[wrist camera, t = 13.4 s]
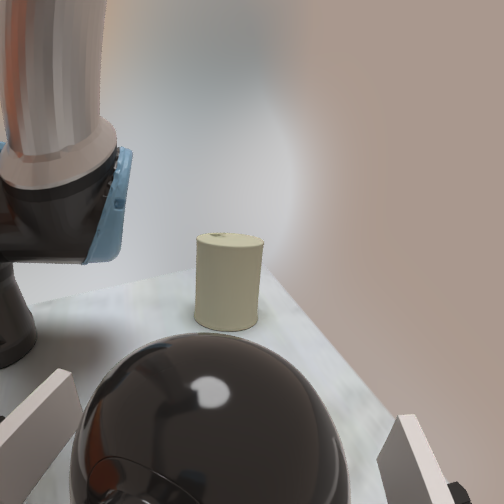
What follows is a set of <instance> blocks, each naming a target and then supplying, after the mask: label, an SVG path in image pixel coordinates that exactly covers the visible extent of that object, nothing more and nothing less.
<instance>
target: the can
mask: <svg viewBox="0 0 504 504" xmlns="http://www.w3.org/2000/svg"><path fill="white" fill-rule="evenodd" d="M196 240H197V256H196V257H197V258H196V299H195V312H194V318H195V320H196V321H197V322H198V323H199V324H200V325H202V326H204V327H206V328H209V329H213V330H218V331H240V330H245V329H248V328H250V327H252V326H253V325H255V324H256V322H257V320H258V316H257V307H258V295H259V283H260V272H261V262H262V252H263V245H264V241H263V240H262V239H260V238H257V237H254V236H249V235H243V234H235V233H208V234H202V235H199V236H198V237H197V238H196Z"/></svg>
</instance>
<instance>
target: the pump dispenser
mask: <svg viewBox="0 0 504 504" xmlns="http://www.w3.org/2000/svg"><path fill="white" fill-rule="evenodd" d="M69 495H70V504H351V488H350V478H349V471H348V466H347V461H346V457H345V453H344V449H343V446H342V442H341V439H340V437H339V434H338V431H337V429H336V427H335V424H334V422H333V420H332V418H331V416H330V414H329V412H328V410H327V408H326V407H325V405H324V403H323V401H322V400H321V398H320V397H319V395H318V394H317V392H316V391H315V389H314V388H313V386H312V385H311V384H310V382H309V381H308V380H307V379H306V378H305V377H304V375H303V374H302V373H301V372H300V371H299V370H298V369H296V368H295V367H294V366H293V365H292V364H291V363H290V362H288V361H287V360H286V359H284V358H283V357H281V356H280V355H278V354H277V353H275V352H273V351H271V350H270V349H268V348H266V347H264V346H262V345H259V344H257V343H254V342H252V341H249V340H246V339H243V338H239V337H235V336H231V335H225V334H218V333H186V334H179V335H173V336H169V337H165V338H162V339H159V340H156V341H153V342H150V343H148V344H146V345H144V346H142V347H140V348H138V349H136V350H134V351H133V352H131V353H130V354H128V355H127V356H125V357H124V358H123V359H122V360H120V361H119V362H118V363H117V364H116V365H115V366H114V367H113V368H112V369H111V370H110V371H109V372H108V373H107V374H106V376H105V377H104V378H103V380H102V381H101V382H100V384H99V385H98V387H97V388H96V390H95V391H94V393H93V395H92V397H91V398H90V400H89V402H88V404H87V406H86V408H85V410H84V412H83V415H82V417H81V420H80V422H79V425H78V428H77V431H76V435H75V438H74V442H73V447H72V453H71V460H70V471H69Z"/></svg>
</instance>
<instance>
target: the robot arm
mask: <svg viewBox="0 0 504 504" xmlns="http://www.w3.org/2000/svg"><path fill="white" fill-rule="evenodd" d="M106 2H107V0H0V100H1V107H2V113H3V120H4V125H5V130H6V136H7V140H8V141H7V142H6V143H5V142H0V368H2V367H5V366H7V365H10V364H12V363H14V362H15V361H17V360H19V359H20V358H22V357H23V356H24V355H25V354H26V353H27V352H29V350H30V349H31V348H32V347H33V345H34V343H35V341H36V337H37V333H36V328H35V323H34V319H33V316H32V313H31V312H30V310H29V309H28V307H27V305H26V303H25V300H24V298H23V296H22V293H21V291H20V289H19V287H18V285H17V282H16V280H15V277H14V271H13V262H20V263H55V264H81V265H86V264H88V263H97V262H109V261H112V260H113V259H115V258H116V257H117V256H118V254H119V252H120V249H121V242H122V232H123V222H124V212H125V204H126V197H127V190H128V183H129V176H130V170H131V163H132V157H133V153H132V151H131V150H130V149H126V148H124V147H122V146H121V147H118V148H117V137H116V131H115V129H114V127H113V126H112V125H111V123H109V122H108V121H107V120H105V119H104V118H102V117H101V116H100V108H99V106H100V101H99V100H100V69H101V52H102V39H103V29H104V18H105V11H106V4H107V3H106ZM82 415H83V411H82V408H81V404H80V401H79V398H78V394H77V391H76V387H75V383H74V379H73V375H72V373H71V372H68V371H66V370H63V369H60V368H58V369H57V370H56V371H55V372H53V373H52V374H51V375H50V376H49V377H48V378H47V379H46V380H45V381H44V382H43V383H42V384H41V385H40V386H39V387H37V388H36V389H35V390H34V391H33V392H32V393H31V394H30V395H29V396H28V397H27V398H26V399H25V400H24V401H23V402H22V403H21V404H20V405H19V406H18V407H17V408H16V409H15V410H13V411H12V412H11V413H10V414H9V415H8V416H7V417H6V418H5V417H3V416H0V504H22V503H23V502H24V501H25V499H26V498H27V496H28V495H29V494H30V492H31V491H32V489H33V488H34V487H35V485H36V484H37V483H38V481H39V480H40V478H41V477H42V476H43V474H44V473H45V472H46V470H47V469H48V468H49V466H50V465H51V464H52V462H53V461H54V460H55V458H56V457H57V455H58V454H59V453H60V451H61V450H62V449H63V447H64V446H65V445H66V443H67V442H68V441H69V440H70V438H71V437H72V436H73V434H74V433H75V432H76V430H77V428H78V425H79V422H80V420H81V417H82ZM377 463H378V467H379V470H380V474H381V478H382V482H383V486H384V489H385V493H386V497H387V501H388V504H472V503H470V498H469V496H468V494H467V491H466V490H465V489H464V488H463V487H462V486H461V485H460V484H459V483H458V482H453V483H450V484H446V481H445V479H444V476H443V474H442V472H441V470H440V467H439V465H438V463H437V461H436V458H435V456H434V454H433V452H432V450H431V447H430V445H429V443H428V441H427V439H426V437H425V435H424V432H423V430H422V428H421V426H420V424H419V422H418V420H417V418H416V416H415V414H409V415H398V416H397V418H396V421H395V423H394V425H393V427H392V429H391V431H390V433H389V436H388V438H387V440H386V442H385V444H384V446H383V448H382V450H381V452H380V453H379V455H378V457H377Z"/></svg>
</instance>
